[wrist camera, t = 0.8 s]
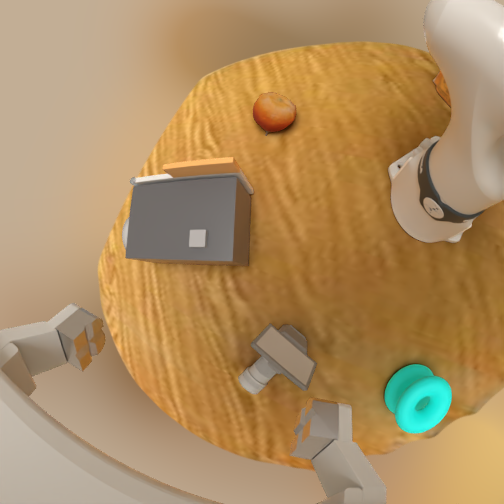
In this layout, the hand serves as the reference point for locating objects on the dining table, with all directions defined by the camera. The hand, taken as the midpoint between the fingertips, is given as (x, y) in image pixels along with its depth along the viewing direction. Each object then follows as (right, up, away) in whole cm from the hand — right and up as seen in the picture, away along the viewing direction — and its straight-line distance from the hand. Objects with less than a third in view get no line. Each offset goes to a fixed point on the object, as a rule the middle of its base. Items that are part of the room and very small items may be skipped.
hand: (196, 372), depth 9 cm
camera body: (-8, +8, +41) cm, 42 cm away
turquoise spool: (+30, -20, +30) cm, 47 cm away
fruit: (+7, +29, +40) cm, 50 cm away
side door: (-7, +15, +41) cm, 44 cm away
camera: (+6, -13, +35) cm, 38 cm away
